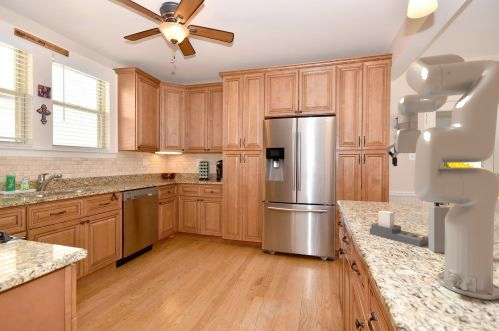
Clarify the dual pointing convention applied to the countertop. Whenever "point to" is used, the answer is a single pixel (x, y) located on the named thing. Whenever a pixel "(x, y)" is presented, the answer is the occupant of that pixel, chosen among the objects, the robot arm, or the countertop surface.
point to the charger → (386, 219)
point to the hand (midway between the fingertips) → (407, 166)
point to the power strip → (399, 235)
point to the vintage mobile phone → (437, 227)
